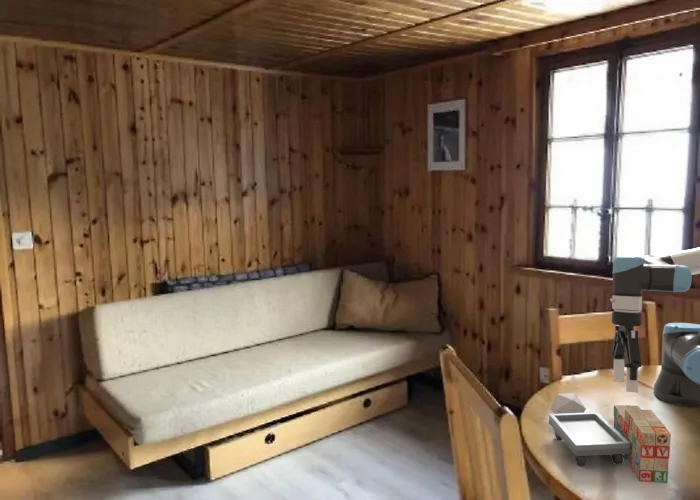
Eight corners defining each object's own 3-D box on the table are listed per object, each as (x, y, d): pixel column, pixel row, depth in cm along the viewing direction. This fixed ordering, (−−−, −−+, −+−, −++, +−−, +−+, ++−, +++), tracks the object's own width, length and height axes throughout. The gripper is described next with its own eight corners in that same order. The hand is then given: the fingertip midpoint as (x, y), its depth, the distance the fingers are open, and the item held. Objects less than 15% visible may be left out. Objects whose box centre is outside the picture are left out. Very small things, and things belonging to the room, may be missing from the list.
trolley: (596, 433, 150) (597, 412, 149) (629, 467, 133) (630, 443, 132) (548, 435, 149) (549, 413, 148) (575, 469, 132) (576, 445, 132)
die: (580, 433, 151) (595, 401, 153) (551, 417, 152) (566, 385, 154) (568, 430, 159) (582, 400, 161) (541, 414, 160) (555, 385, 162)
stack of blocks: (612, 437, 148) (614, 393, 146) (637, 438, 147) (639, 394, 145) (638, 482, 127) (641, 431, 125) (668, 484, 126) (671, 433, 124)
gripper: (602, 307, 169) (600, 376, 169) (624, 314, 145) (622, 395, 145) (628, 308, 168) (627, 378, 167) (655, 315, 144) (654, 397, 143)
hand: (625, 386), depth 156 cm, fingers open, 13 cm apart
